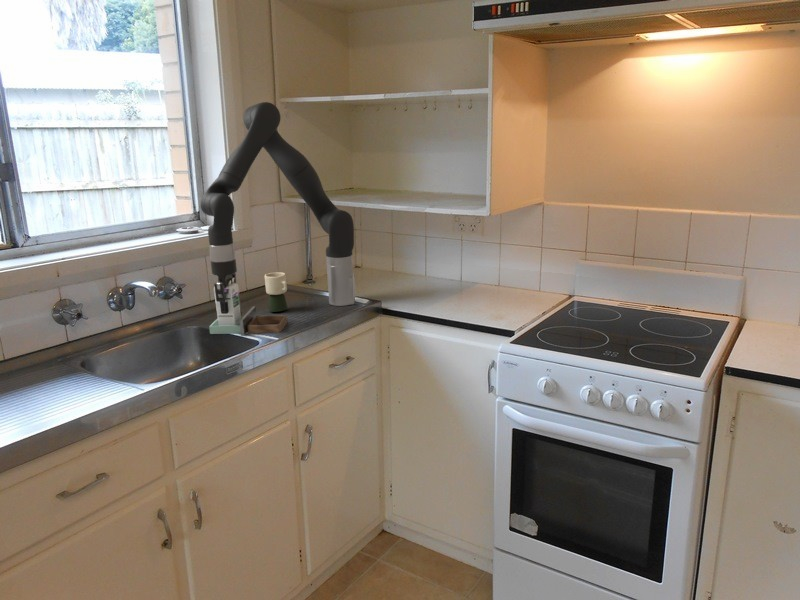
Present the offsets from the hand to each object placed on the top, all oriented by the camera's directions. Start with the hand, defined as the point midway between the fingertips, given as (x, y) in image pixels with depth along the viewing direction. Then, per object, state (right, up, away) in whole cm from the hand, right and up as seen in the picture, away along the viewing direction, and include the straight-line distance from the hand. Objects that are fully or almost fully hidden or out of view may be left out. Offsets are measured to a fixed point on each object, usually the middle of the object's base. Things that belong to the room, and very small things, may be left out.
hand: (228, 309), depth 197 cm
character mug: (+12, -1, +19) cm, 22 cm away
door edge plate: (+6, -6, +1) cm, 9 cm away
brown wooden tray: (+12, -6, +1) cm, 14 cm away
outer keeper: (0, -6, +2) cm, 6 cm away
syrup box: (0, -6, +2) cm, 6 cm away
